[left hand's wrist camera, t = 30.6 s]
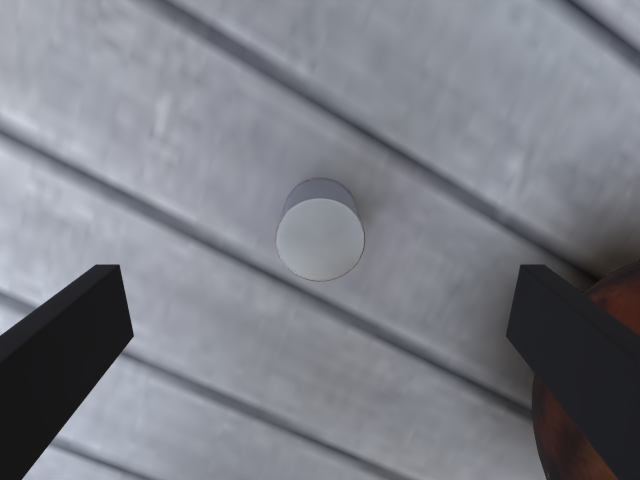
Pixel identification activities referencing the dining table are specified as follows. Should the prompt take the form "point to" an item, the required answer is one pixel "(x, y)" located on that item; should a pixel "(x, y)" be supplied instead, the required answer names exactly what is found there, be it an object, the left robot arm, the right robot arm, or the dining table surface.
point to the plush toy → (549, 417)
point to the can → (320, 231)
